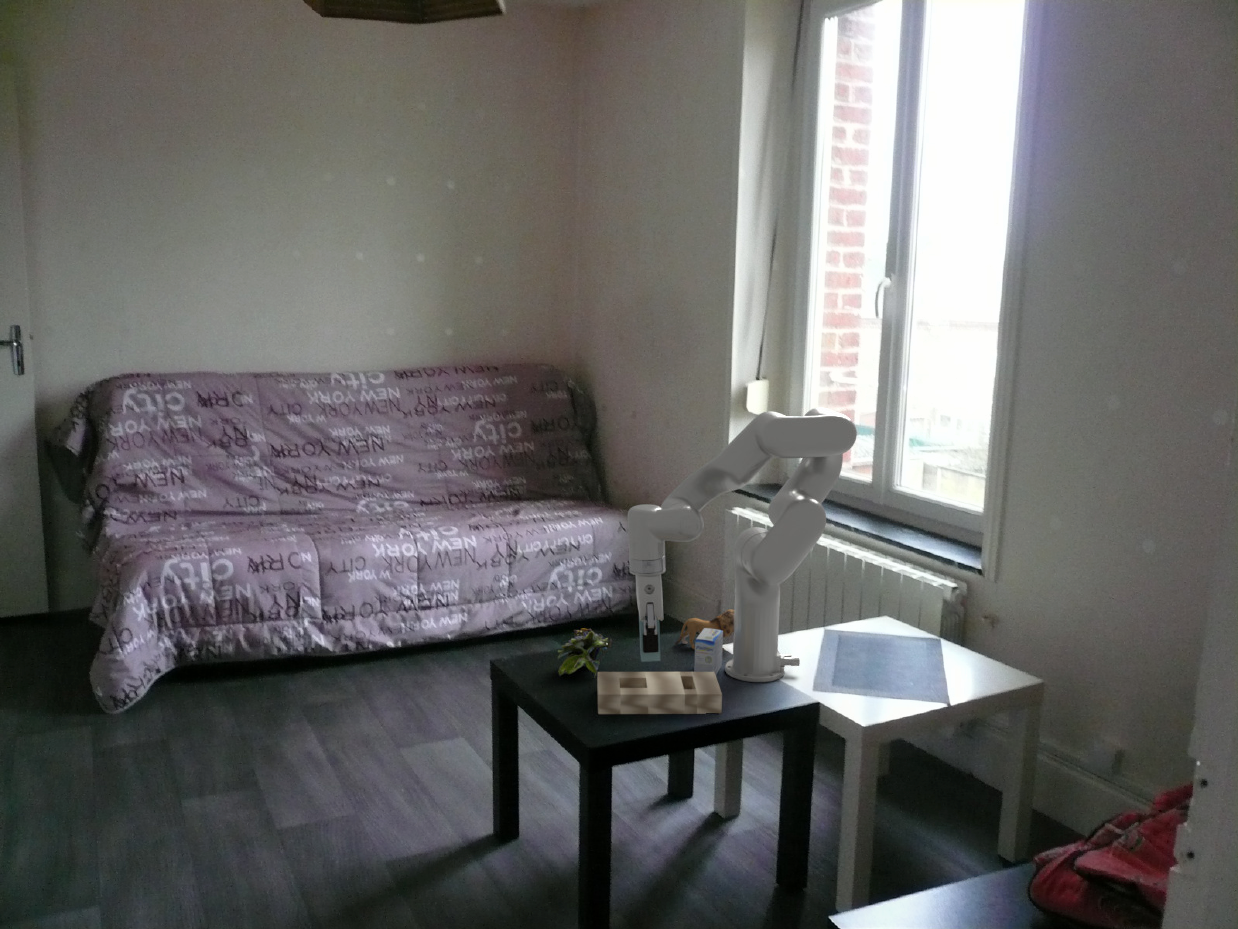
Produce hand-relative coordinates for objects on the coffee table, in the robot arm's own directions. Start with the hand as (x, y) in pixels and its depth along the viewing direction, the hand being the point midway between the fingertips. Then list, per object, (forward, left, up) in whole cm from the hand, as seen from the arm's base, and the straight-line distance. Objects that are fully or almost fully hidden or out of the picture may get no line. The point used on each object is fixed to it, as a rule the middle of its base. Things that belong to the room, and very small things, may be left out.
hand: (650, 647), depth 226 cm
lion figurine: (-15, -19, -7) cm, 25 cm away
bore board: (-1, +13, -7) cm, 15 cm away
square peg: (0, 0, -2) cm, 2 cm away
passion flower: (+13, -3, -7) cm, 15 cm away
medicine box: (-13, -3, -7) cm, 15 cm away
